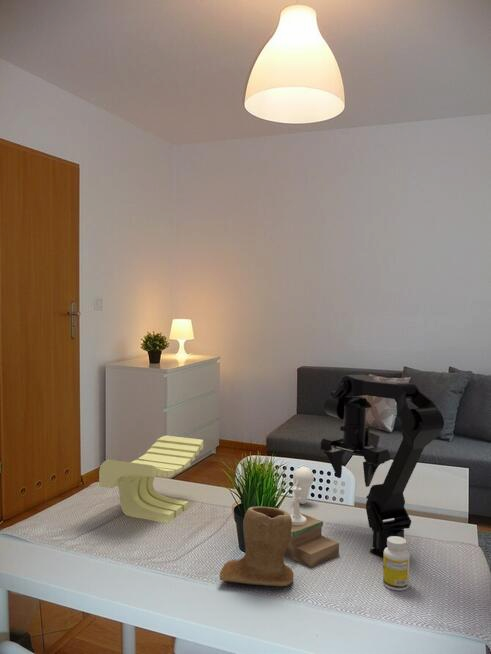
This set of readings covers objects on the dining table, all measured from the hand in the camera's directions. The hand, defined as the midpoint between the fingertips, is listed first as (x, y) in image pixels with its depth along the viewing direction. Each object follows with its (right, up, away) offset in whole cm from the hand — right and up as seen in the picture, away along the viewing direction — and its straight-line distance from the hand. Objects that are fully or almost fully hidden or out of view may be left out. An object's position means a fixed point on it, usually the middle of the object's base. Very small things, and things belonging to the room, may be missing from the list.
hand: (353, 482), depth 149 cm
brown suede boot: (-25, -14, -26) cm, 39 cm away
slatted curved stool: (-54, -12, +13) cm, 57 cm away
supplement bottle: (+4, -15, -28) cm, 32 cm away
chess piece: (-16, -7, -11) cm, 20 cm away
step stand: (-14, -13, -12) cm, 23 cm away
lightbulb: (-11, -12, +20) cm, 26 cm away
